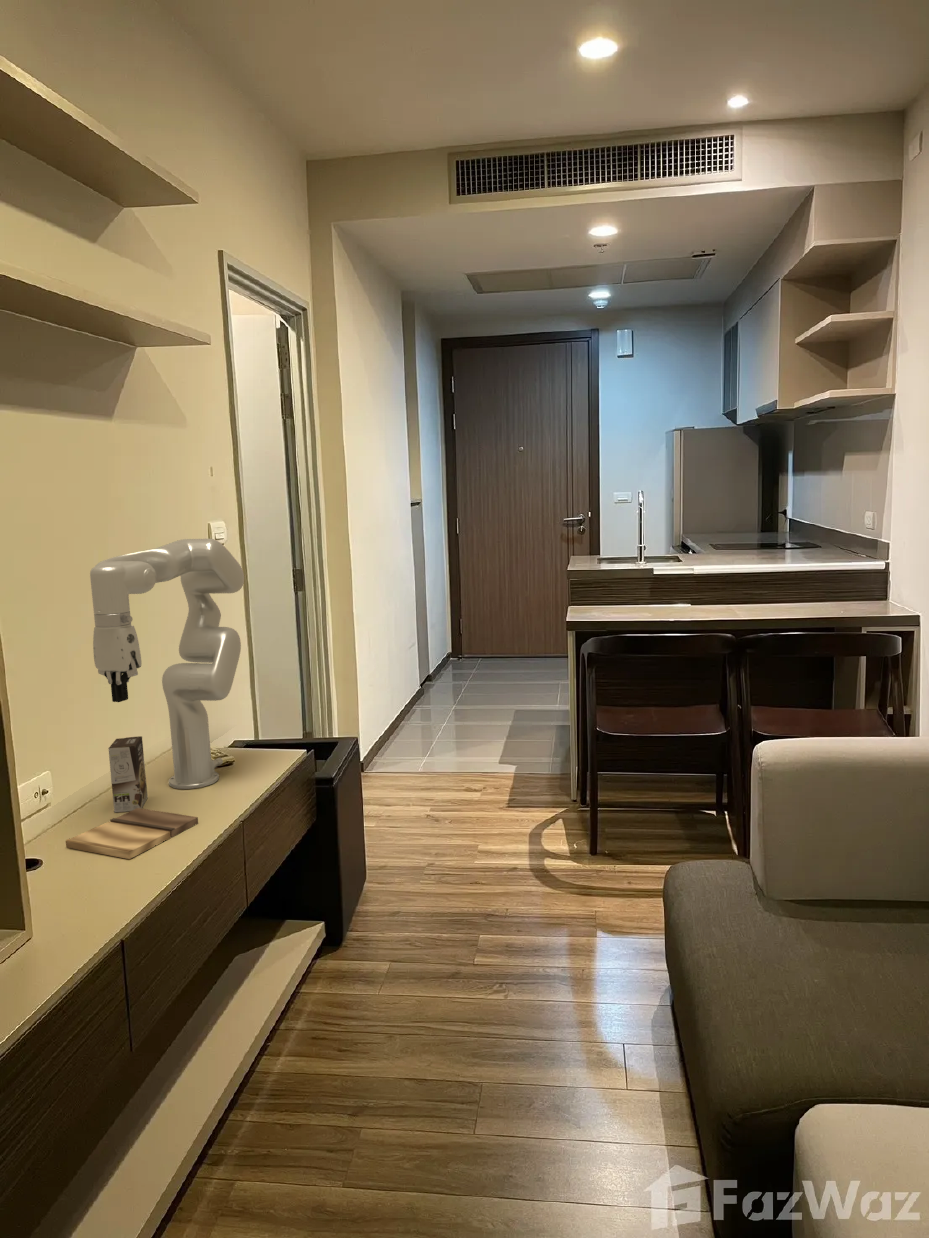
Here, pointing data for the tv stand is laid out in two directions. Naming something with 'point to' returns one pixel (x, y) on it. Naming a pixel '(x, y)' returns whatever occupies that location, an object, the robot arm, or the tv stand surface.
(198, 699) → the robot arm
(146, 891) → the tv stand surface
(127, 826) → the oak plank
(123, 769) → the coffee box
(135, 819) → the walnut board
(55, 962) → the tv stand surface
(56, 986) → the tv stand surface
